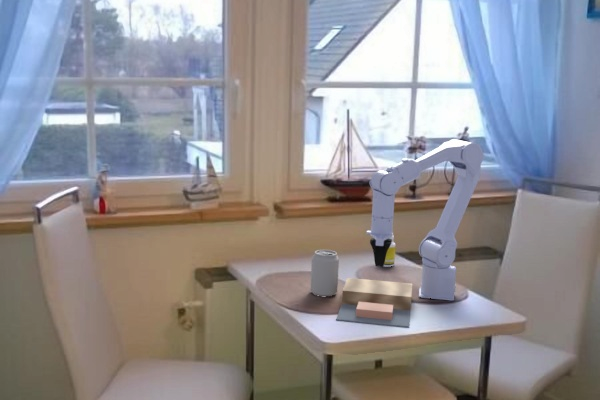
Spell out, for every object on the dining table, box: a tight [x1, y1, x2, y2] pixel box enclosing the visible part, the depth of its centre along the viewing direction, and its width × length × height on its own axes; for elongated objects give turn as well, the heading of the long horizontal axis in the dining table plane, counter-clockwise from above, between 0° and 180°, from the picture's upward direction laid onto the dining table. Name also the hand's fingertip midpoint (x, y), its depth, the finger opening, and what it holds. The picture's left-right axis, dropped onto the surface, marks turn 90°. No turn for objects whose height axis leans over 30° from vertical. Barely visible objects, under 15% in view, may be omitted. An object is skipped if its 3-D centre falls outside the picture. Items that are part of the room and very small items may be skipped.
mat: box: [335, 303, 411, 328], centre depth 185 cm, size 18×12×1 cm, turn 80°
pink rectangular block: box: [356, 302, 393, 320], centre depth 185 cm, size 9×6×2 cm, turn 80°
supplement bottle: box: [382, 235, 396, 268], centre depth 232 cm, size 5×5×10 cm
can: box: [309, 249, 340, 297], centre depth 200 cm, size 8×8×12 cm
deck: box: [341, 277, 413, 311], centre depth 197 cm, size 18×12×4 cm, turn 80°
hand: (379, 265), depth 195 cm, fingers closed
